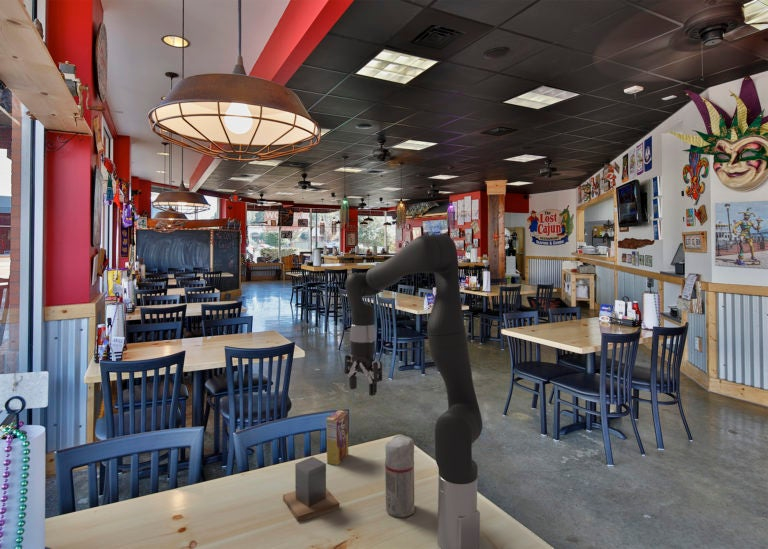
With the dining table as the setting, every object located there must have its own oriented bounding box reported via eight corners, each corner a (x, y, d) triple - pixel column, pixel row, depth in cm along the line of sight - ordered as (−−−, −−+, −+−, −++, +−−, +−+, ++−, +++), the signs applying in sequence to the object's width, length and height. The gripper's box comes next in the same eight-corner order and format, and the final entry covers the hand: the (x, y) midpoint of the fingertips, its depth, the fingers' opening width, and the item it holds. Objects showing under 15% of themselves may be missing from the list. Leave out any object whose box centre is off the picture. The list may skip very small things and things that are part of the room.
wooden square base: (339, 508, 121) (339, 479, 120) (297, 522, 114) (297, 491, 114) (322, 488, 131) (322, 461, 131) (283, 499, 125) (282, 471, 124)
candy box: (337, 452, 155) (337, 409, 154) (348, 454, 153) (348, 411, 153) (325, 463, 146) (325, 418, 146) (337, 465, 145) (337, 420, 144)
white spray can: (412, 520, 115) (413, 446, 114) (382, 517, 117) (382, 443, 116) (417, 503, 123) (417, 433, 123) (388, 499, 125) (388, 430, 124)
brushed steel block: (325, 498, 123) (325, 463, 122) (308, 507, 118) (308, 471, 118) (312, 490, 127) (312, 456, 126) (295, 498, 123) (295, 463, 122)
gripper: (338, 337, 135) (338, 389, 135) (370, 344, 125) (370, 400, 126) (356, 334, 140) (356, 384, 141) (388, 340, 130) (388, 394, 131)
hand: (362, 391), depth 133 cm, fingers open, 8 cm apart
